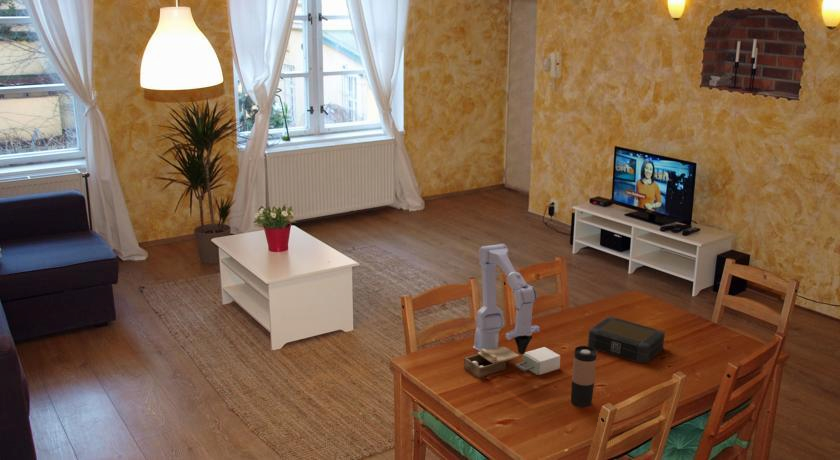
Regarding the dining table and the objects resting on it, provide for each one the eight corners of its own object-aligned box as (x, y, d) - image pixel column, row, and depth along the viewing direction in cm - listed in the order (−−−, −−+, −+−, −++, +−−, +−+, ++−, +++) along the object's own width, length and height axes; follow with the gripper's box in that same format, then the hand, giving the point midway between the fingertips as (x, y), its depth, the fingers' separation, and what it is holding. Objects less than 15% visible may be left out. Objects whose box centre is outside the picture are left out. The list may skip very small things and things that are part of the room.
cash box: (585, 347, 330) (586, 330, 328) (607, 332, 345) (609, 315, 343) (644, 366, 315) (646, 347, 313) (664, 348, 331) (666, 331, 328)
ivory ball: (468, 368, 308) (468, 360, 307) (475, 366, 310) (475, 358, 309) (473, 371, 305) (473, 363, 304) (480, 369, 307) (480, 362, 306)
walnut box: (463, 369, 308) (464, 358, 307) (488, 361, 315) (489, 351, 313) (479, 379, 300) (480, 368, 299) (505, 372, 307) (506, 360, 305)
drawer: (511, 371, 307) (512, 356, 305) (541, 362, 315) (542, 348, 313) (526, 380, 300) (527, 365, 298) (556, 371, 308) (557, 356, 306)
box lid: (477, 354, 310) (477, 348, 310) (502, 347, 317) (502, 341, 316) (493, 364, 302) (494, 358, 302) (518, 356, 309) (519, 351, 308)
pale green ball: (475, 372, 304) (475, 365, 303) (482, 370, 306) (482, 363, 305) (480, 376, 302) (481, 368, 301) (487, 374, 304) (487, 366, 303)
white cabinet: (523, 368, 310) (524, 352, 308) (543, 362, 316) (544, 346, 314) (539, 377, 303) (540, 361, 301) (559, 371, 308) (560, 355, 306)
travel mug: (567, 397, 289) (571, 345, 283) (588, 397, 290) (593, 345, 284) (573, 408, 282) (577, 355, 276) (594, 407, 282) (599, 355, 276)
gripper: (515, 326, 290) (513, 361, 294) (546, 318, 298) (543, 352, 302) (502, 320, 296) (500, 354, 300) (533, 312, 303) (531, 345, 307)
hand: (521, 353), depth 301 cm, fingers closed
